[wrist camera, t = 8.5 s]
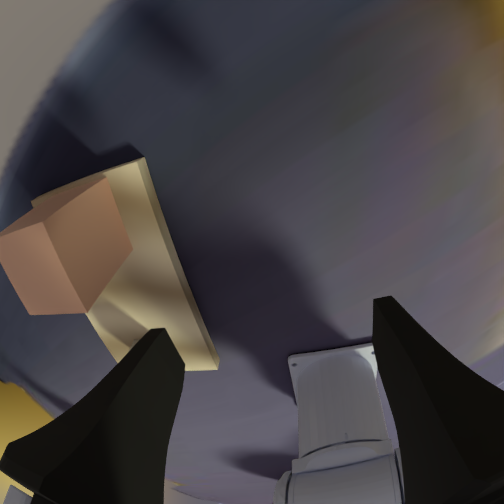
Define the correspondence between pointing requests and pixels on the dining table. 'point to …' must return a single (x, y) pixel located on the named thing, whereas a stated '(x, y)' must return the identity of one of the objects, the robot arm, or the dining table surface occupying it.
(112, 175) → the birch board
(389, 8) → the dining table surface
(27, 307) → the tan cardboard box
